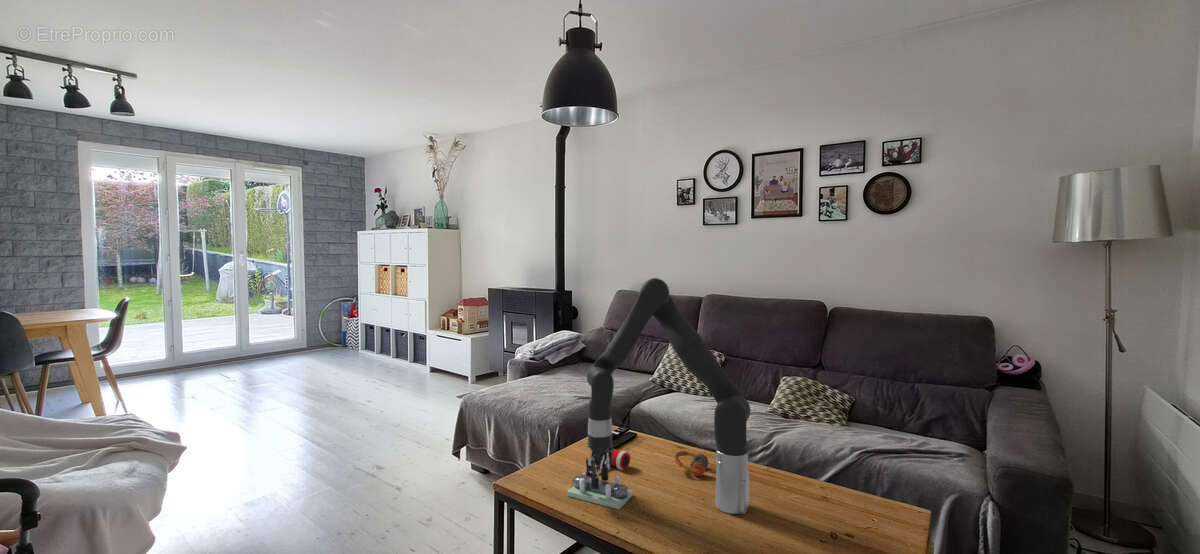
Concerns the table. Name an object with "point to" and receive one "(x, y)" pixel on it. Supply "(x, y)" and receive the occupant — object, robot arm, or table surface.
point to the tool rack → (599, 495)
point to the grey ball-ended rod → (603, 487)
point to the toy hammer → (618, 460)
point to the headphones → (694, 463)
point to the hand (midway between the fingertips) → (600, 484)
